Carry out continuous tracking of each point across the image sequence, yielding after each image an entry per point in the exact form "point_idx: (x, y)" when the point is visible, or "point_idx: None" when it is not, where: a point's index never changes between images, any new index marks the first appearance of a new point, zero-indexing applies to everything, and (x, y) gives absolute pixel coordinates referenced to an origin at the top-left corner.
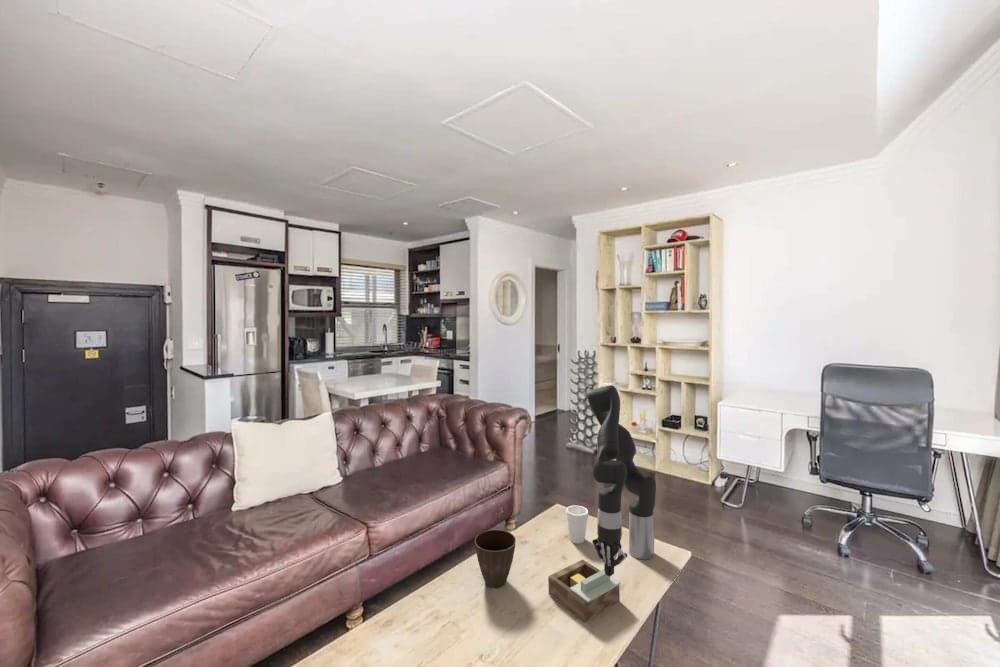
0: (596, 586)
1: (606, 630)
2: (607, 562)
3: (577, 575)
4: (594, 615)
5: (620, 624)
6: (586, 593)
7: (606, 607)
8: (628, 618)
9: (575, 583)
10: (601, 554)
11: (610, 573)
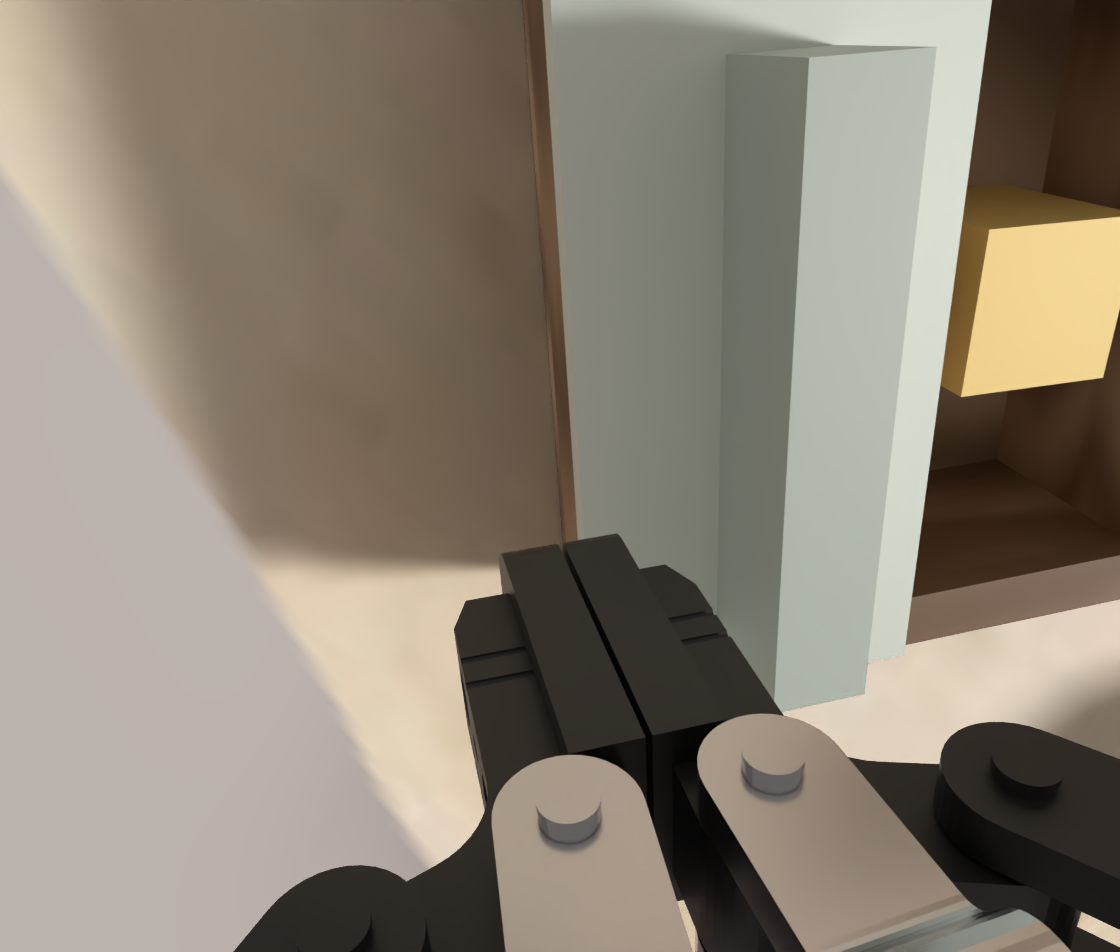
0: (726, 355)
1: (251, 97)
2: (649, 820)
3: (1089, 336)
4: (535, 150)
5: (262, 335)
6: (712, 74)
7: (552, 373)
8: (302, 480)
9: (1019, 217)
10: (1078, 896)
11: (482, 632)
